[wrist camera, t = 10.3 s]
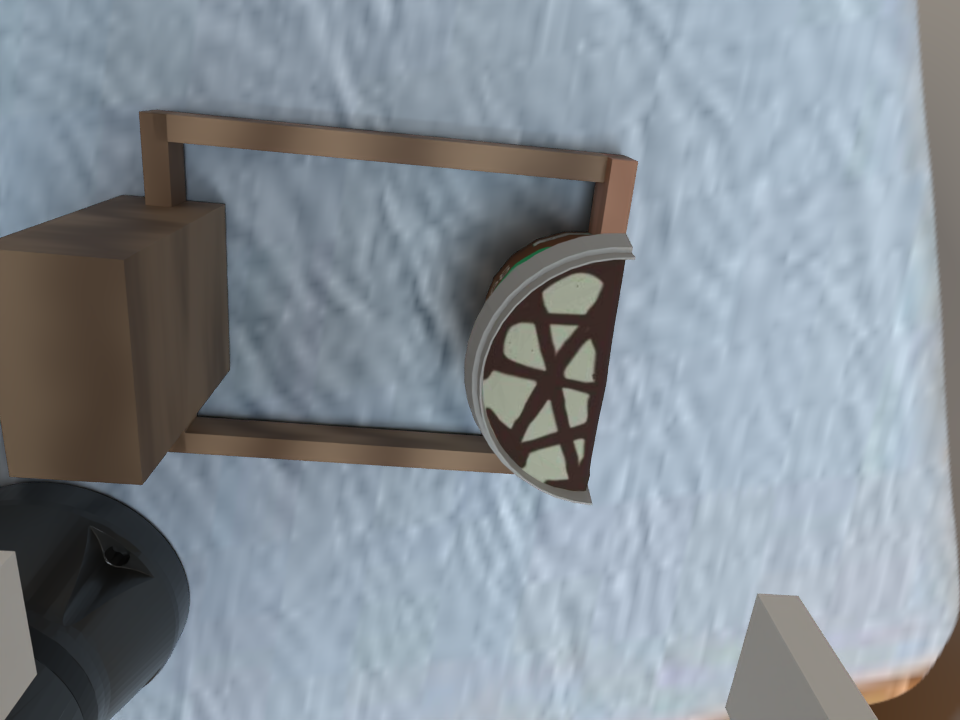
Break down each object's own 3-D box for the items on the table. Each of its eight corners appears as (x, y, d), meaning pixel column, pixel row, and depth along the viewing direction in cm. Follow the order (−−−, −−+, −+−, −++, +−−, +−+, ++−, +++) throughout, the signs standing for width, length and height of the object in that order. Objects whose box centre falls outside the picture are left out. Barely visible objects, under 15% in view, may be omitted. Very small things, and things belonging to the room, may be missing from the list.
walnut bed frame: (141, 431, 40) (23, 566, 29) (114, 105, 34) (-48, 118, 23) (574, 460, 42) (618, 597, 31) (623, 155, 36) (701, 189, 25)
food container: (472, 192, 37) (479, 229, 27) (591, 202, 37) (638, 243, 28) (452, 410, 41) (453, 507, 32) (558, 417, 42) (590, 515, 32)
